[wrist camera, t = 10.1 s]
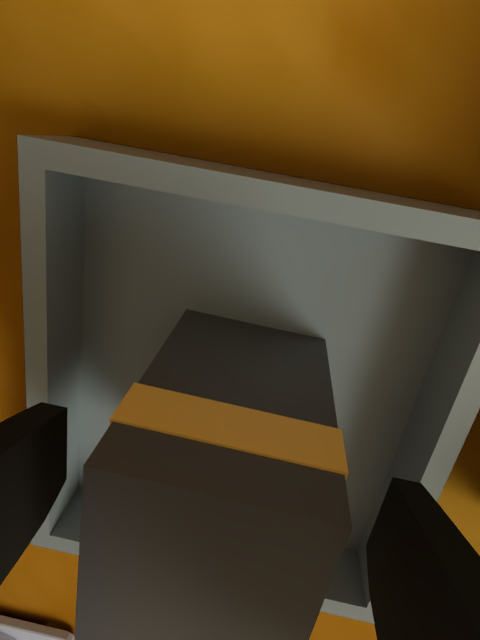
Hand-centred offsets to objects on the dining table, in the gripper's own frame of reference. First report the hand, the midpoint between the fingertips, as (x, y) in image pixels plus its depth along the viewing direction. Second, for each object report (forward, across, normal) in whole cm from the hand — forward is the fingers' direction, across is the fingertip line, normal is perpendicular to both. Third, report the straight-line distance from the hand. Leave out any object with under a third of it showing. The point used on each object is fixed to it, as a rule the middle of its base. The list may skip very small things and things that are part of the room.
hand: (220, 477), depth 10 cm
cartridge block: (+4, 0, 0) cm, 4 cm away
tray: (+4, 0, 0) cm, 4 cm away
